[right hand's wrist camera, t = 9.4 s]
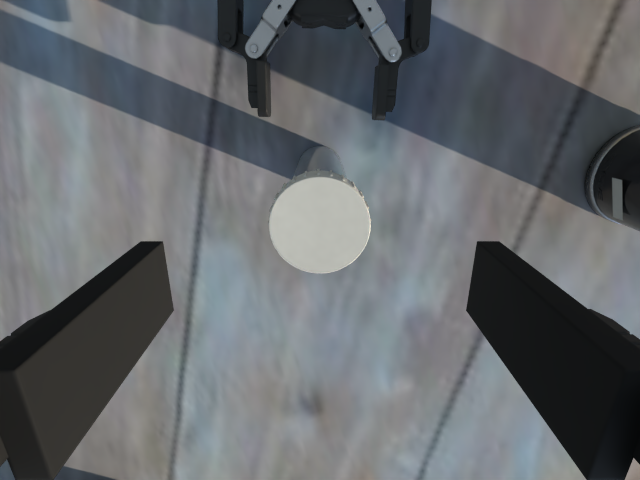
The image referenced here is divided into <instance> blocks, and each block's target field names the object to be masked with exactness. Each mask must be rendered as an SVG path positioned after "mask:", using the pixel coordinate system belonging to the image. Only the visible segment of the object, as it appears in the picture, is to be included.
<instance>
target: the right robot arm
mask: <svg viewBox="0 0 640 480" xmlns="http://www.w3.org/2000/svg"><path fill="white" fill-rule="evenodd" d="M173 311H174V309H173V303H172V296H171V290H170V284H169V277H168V271H167V265H166V258H165V252H164V245H163V241H141V242H140V243H138V244H137V245H136V246H134V247H133V248H132V249H130V250H129V251H128V252H126V253H125V254H124V255H123V256H121V257H120V258H119V259H117V260H116V261H115V262H113V263H112V264H111V265H109V266H108V267H107V268H105V269H104V270H103V271H102V272H100V273H99V274H98V275H96V276H95V277H94V278H92V279H91V280H90V281H88V282H87V283H86V284H85V285H83V286H82V287H81V288H79V289H78V290H77V291H75V292H74V293H73V294H71V295H70V296H69V297H67V298H66V299H65V300H64V301H62V302H61V303H60V304H58V305H57V306H56V307H54V308H53V309H52V310H50V311H48V312H45V313H43V314H41V315H39V316H37V317H35V318H33V319H31V320H29V321H27V322H26V323H24V324H23V325H22V326H20V327H19V328H18V329H16V330H15V331H14V332H12V333H11V336H7V337H5V338H4V339H3V340H1V341H0V466H1V465H2V464H3V463H4V462H5V461H6V460H8V462H9V465H10V467H11V470H12V472H13V475H14V477H15V480H53V479H54V478H55V477H56V475H57V474H58V472H59V471H60V470H61V468H62V467H63V465H64V464H65V463H66V461H67V460H68V458H69V457H70V456H71V454H72V453H73V451H74V450H75V449H76V447H77V446H78V444H79V443H80V441H81V440H82V439H83V437H84V436H85V434H86V433H87V432H88V430H89V429H90V427H91V426H92V425H93V423H94V422H95V420H96V419H97V418H98V416H99V415H100V413H101V412H102V411H103V409H104V408H105V406H106V405H107V404H108V402H109V401H110V399H111V398H112V397H113V395H114V394H115V392H116V391H117V389H118V388H119V387H120V385H121V384H122V382H123V381H124V380H125V378H126V377H127V375H128V374H129V373H130V371H131V370H132V368H133V367H134V366H135V364H136V363H137V361H138V360H139V359H140V357H141V356H142V354H143V353H144V352H145V350H146V349H147V347H148V346H149V345H150V343H151V342H152V340H153V339H154V337H155V336H156V335H157V333H158V332H159V330H160V329H161V328H162V326H163V325H164V323H165V322H166V321H167V319H168V318H169V316H170V315H171V314H172V312H173ZM466 311H467V312H468V314H469V315H470V316H471V318H472V319H473V321H474V322H475V323H476V325H477V326H478V328H479V329H480V330H481V332H482V333H483V335H484V336H485V337H486V339H487V340H488V342H489V343H490V345H491V346H492V347H493V349H494V350H495V352H496V353H497V354H498V356H499V357H500V359H501V360H502V361H503V363H504V364H505V366H506V367H507V368H508V370H509V371H510V373H511V374H512V375H513V377H514V378H515V380H516V381H517V382H518V384H519V385H520V387H521V388H522V389H523V391H524V392H525V394H526V395H527V397H528V398H529V399H530V401H531V402H532V404H533V405H534V406H535V408H536V409H537V411H538V412H539V413H540V415H541V416H542V418H543V419H544V420H545V422H546V423H547V425H548V426H549V427H550V429H551V430H552V432H553V433H554V434H555V436H556V437H557V439H558V440H559V441H560V443H561V444H562V446H563V447H564V449H565V450H566V451H567V453H568V454H569V456H570V457H571V458H572V460H573V461H574V463H575V464H576V465H577V467H578V468H579V470H580V471H581V472H582V474H583V475H584V477H585V478H586V479H587V480H625V477H626V475H627V472H628V470H629V467H630V465H631V462H632V460H633V457H634V458H635V460H636V461H637V462H638V463H639V464H640V339H638V338H637V337H636V336H634V335H630V333H629V331H627V330H626V329H625V328H623V327H622V326H621V325H619V324H618V323H617V322H615V321H614V320H612V319H610V318H608V317H606V316H604V315H602V314H600V313H598V312H596V311H594V310H592V309H587V308H586V307H584V306H583V305H582V304H580V303H579V302H578V301H576V300H575V299H574V298H573V297H571V296H570V295H569V294H567V293H566V292H565V291H563V290H562V289H561V288H559V287H558V286H557V285H555V284H554V283H553V282H552V281H550V280H549V279H548V278H546V277H545V276H544V275H542V274H541V273H540V272H538V271H537V270H536V269H535V268H533V267H532V266H531V265H529V264H528V263H527V262H525V261H524V260H523V259H521V258H520V257H519V256H517V255H516V254H515V253H514V252H512V251H511V250H510V249H508V248H507V247H506V246H504V245H503V244H502V243H500V242H499V241H477V245H476V252H475V258H474V265H473V271H472V277H471V284H470V290H469V296H468V303H467V309H466Z"/></svg>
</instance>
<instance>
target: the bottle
mask: <svg viewBox="0 0 640 480" xmlns="http://www.w3.org/2000/svg"><path fill="white" fill-rule="evenodd" d="M317 169H319V171H330V170H332V172H333V173H337V174H339V175H344V177H345V178H346V179H347V177H346V175H345V172H344V169H343V166H342V164H341V161H340V158H339V156H338V155H337V154H336V153H335V152H334V151H333V150H332V149H330V148H328V147H325V146H315V147H311V148H309V149H308V150H306V151H305V152H304V153H303V154H302V156H301V158H300V160H299V162H298V165H297V168H296V170H295V173H294V176H298V175H300V174H303V173H305V171H307V172H310V171H317ZM292 179H293V178H292Z"/></svg>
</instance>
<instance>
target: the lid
mask: <svg viewBox="0 0 640 480" xmlns="http://www.w3.org/2000/svg"><path fill="white" fill-rule="evenodd" d="M363 198H364V196H363V194H362V192H361V191H359V190H358V189H357V188H356V187H355V184H354V182H353V181H352V182H350V181H349V180H348V179H346V178H345V177H344V175H339V174H337V173H333V172H332V170H330V171H319V169H317V171H310V172H307V171H305V173H303V174H300V175H298V176H293V179H292V180H290V181H289V182H288V183H287V184H286V183H285V184H284V185H283V187H282V189H281V191H280V192H279V193H277V194H276V197H275V199H274V200H275V202H274V204H272V206H271V208H270V216H269V221H268V224H269V233H270V237H271V241H272V243H273V245H274V247H275V249H276V250H277V252H278V253H279V255H280V256H281V257H282V258H283V259H284V260H285V261H286V262H288V263H289V264H290V265H292V266H294V267H296V268H297V269H300V270H302V271H306V272H310V273H329V272H333V271H337V270H339V269H342V268H344V267H346V266H347V265H349V264H350V263H352V262H353V261H354V260H355V259H356V258H357V257H358V256H359V255H360V254H361V252H362V251H363V249H364V248H365V246H366V244H367V241H368V238H369V234H370V226H371V224H370V221H371V218H370V216H369V211H368V209H369V207H368V205H367V203H366V201H365V202H364V199H363Z"/></svg>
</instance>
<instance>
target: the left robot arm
mask: <svg viewBox="0 0 640 480" xmlns="http://www.w3.org/2000/svg"><path fill="white" fill-rule="evenodd" d="M278 8H279V9H278ZM369 9H370V10H371V11H370V10H369ZM430 18H431V0H405V27H404V39H403V40H400V41H397V40H396V38H395V36H394V35H393V33H392V31H391V29H390V28H389V26H388V24H387V20H386V17H385V15H384V13H383V12H382V10H381V8H380V7H379V5H378V3H377V1H376V0H272V1H271V2H270V4H269V5H268V7H267V8H266V10H265V12H264V13H263V15H262V18H261V21H260V23H259V24H258V26H257V27H256V29H255V30H254V32H253V34H252V35H251V37H248V36H246V35H244V34H243V0H218V39H219V42H220V43H221V44H222V45H223V46H225V47H226V48H228V49H229V50H231V51H233V52H236V53H238V54H241V55H243V56H244V57H245V59H246V61H247V74H248V99H249V103H250V105H251V108H258V116H259V117H270V116H271V87H270V63H268V62H267V57H268V55H269V54H270V52H271V51H272V49H273V48H274V46H275V45H276V43H277V42H278V41H279V39H280V38H282V36H283V35H284V34H285V32H286V31H287V29H288V28H289V26H290V25H291V23H292V22H293V21H294V22H295V23H296V24H298V25H300V26H302V28H316V27H320V26H323V25H324V26H328V27H331V28H334V29H346V27H349V26H351V25H352V24H354V23H355V24H356V25H357V27H358V29H359V30H360V32H361V34H362V35H363V37H364V38H365V40H366V41H367V42H368V43H369V44H370V46H371V48H372V49H373V51H374V53H375V54H376V56H377V58H378V59H379V65H378V66H376V67H375V77H374V92H373V106H372V120H384V119H385V114H386V112H392V110H393V108H394V106H395V99H396V87H397V76H398V67H399V65H400V63H401V62H402V61H403V60H405V59H407V58H410V57H414V56H416V55H418V54H419V53H422V52H424V51H425V50H426V49H427V48H428V45H429V35H430ZM585 192H586V197H587V200H588V202H589V205H590V206H591V208H592V209H593V210H594V211H595V212H596V213H597V214H598V215H600V216H601V217H603V218H605V219H607V220H610V221H613V222H615V223H619V224H623V225H625V226H628V227H631V228H633V229H635V230H638V231H640V125H639V126H635V127H632V128H629V129H627V130H625V131H623V132H621V133H619V134H617V135H616V136H614V137H613V138H612V139H610V140H609V141H608V142H607V143H606V144H605V145H604V146H603V147H602V148H601V149H600V150H599V152H598V153H597V154H596V156H595V157H594V159H593V161H592V163H591V164H590V167H589V169H588V172H587V176H586V182H585Z"/></svg>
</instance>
